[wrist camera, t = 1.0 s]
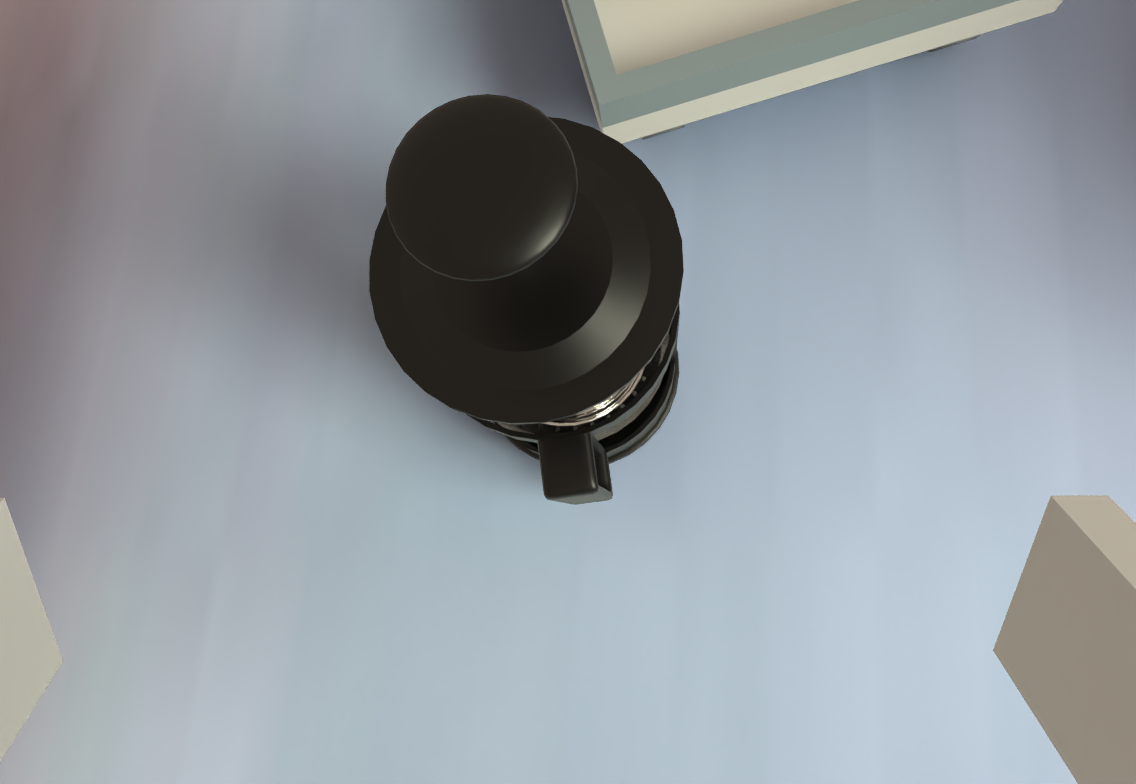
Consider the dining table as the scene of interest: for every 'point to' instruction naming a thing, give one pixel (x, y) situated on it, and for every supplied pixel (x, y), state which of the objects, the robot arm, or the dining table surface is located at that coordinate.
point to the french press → (532, 284)
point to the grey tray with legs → (752, 49)
